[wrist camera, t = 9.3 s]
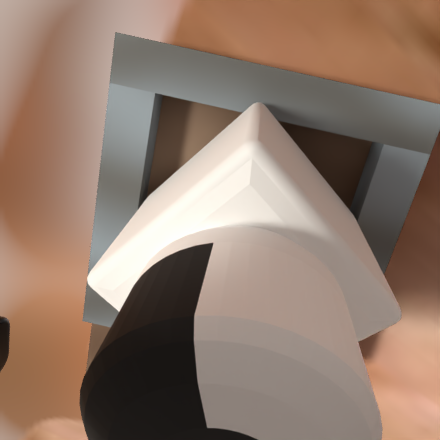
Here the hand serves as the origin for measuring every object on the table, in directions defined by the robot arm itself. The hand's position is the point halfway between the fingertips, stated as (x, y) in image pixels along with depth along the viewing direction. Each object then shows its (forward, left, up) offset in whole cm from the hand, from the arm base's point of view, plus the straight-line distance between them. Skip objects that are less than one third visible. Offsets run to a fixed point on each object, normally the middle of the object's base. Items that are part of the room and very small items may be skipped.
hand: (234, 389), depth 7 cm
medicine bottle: (+1, 0, -11) cm, 11 cm away
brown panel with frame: (-3, 0, -13) cm, 13 cm away
